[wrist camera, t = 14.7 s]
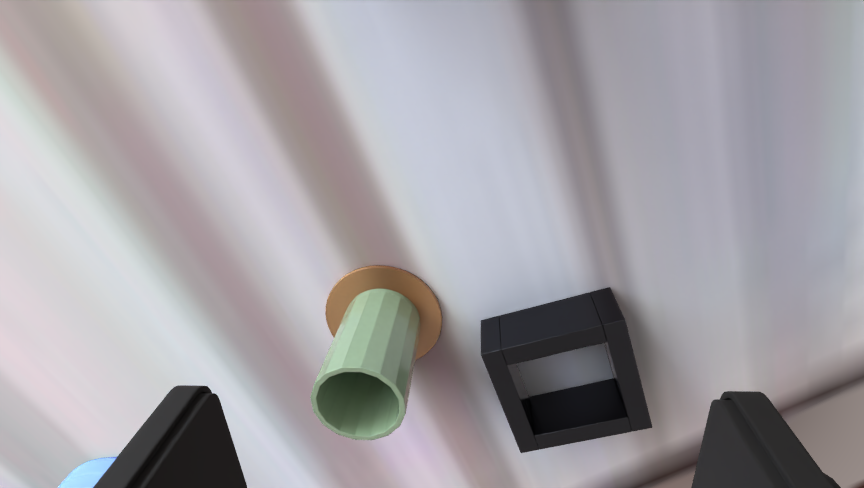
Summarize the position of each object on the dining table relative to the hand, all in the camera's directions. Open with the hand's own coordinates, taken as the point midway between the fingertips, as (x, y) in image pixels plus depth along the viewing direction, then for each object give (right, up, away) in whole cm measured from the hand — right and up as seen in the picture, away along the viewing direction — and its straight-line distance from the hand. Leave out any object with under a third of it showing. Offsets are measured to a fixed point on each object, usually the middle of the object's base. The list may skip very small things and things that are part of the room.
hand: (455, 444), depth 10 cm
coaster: (-5, -2, +33) cm, 33 cm away
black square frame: (+11, -6, +33) cm, 35 cm away
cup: (-5, -3, +33) cm, 33 cm away
